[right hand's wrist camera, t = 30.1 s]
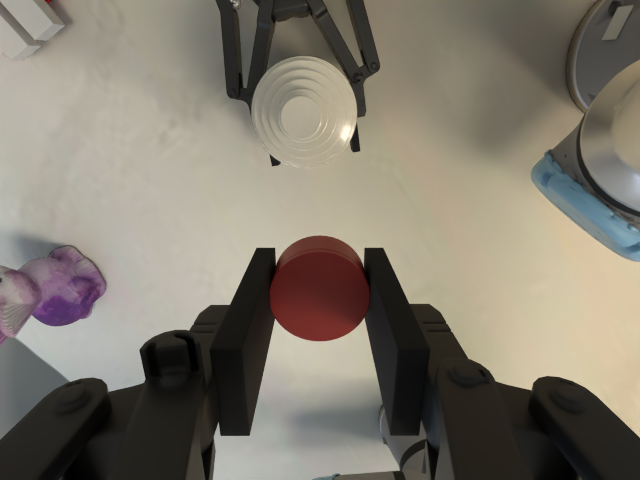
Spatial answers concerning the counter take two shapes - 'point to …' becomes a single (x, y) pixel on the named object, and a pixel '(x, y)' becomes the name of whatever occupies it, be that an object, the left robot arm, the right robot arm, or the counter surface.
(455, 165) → the counter surface
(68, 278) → the figurine
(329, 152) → the bottle
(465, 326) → the counter surface
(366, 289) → the cap
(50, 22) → the toy
